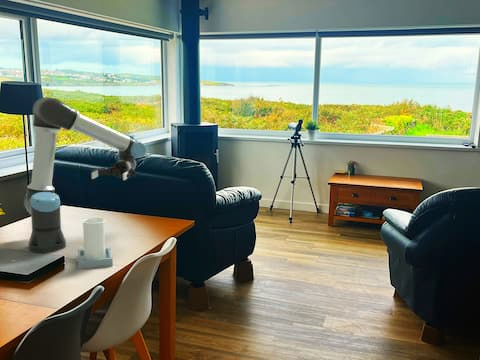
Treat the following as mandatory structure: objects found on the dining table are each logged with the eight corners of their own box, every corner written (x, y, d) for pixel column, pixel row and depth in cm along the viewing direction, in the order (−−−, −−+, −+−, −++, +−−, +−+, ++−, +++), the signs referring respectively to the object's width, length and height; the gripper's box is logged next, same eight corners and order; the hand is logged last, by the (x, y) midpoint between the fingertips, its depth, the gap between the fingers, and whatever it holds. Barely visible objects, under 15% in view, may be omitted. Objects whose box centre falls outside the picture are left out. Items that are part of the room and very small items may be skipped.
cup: (97, 253, 194) (96, 216, 191) (109, 258, 189) (108, 220, 186) (80, 258, 188) (79, 220, 185) (91, 263, 183) (90, 224, 180)
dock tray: (78, 268, 180) (77, 261, 180) (77, 257, 192) (77, 250, 192) (112, 265, 185) (112, 258, 184) (110, 254, 197) (110, 247, 196)
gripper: (147, 177, 222) (136, 186, 201) (95, 175, 222) (79, 183, 201) (147, 162, 221) (136, 169, 200) (95, 159, 221) (79, 166, 200)
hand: (108, 176), depth 200 cm, fingers open, 13 cm apart
